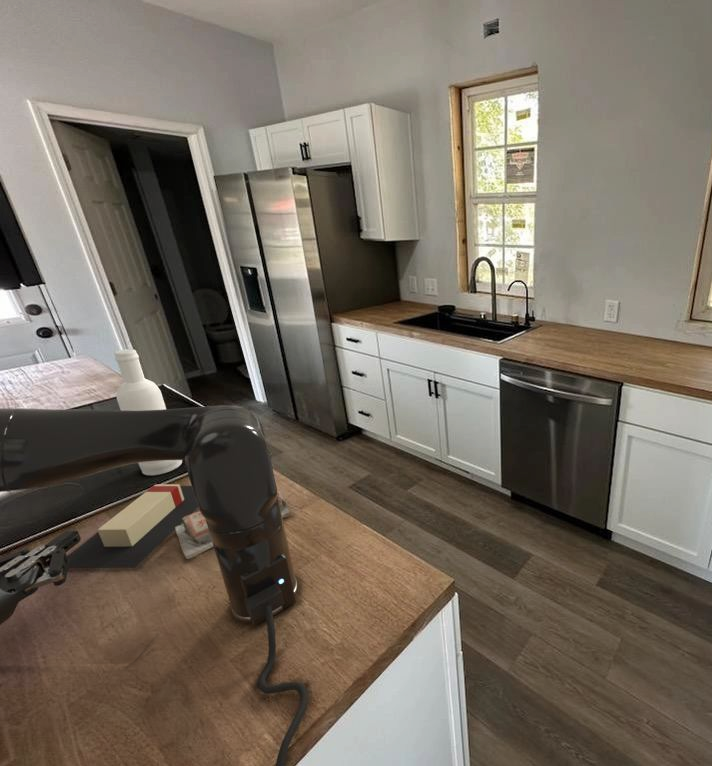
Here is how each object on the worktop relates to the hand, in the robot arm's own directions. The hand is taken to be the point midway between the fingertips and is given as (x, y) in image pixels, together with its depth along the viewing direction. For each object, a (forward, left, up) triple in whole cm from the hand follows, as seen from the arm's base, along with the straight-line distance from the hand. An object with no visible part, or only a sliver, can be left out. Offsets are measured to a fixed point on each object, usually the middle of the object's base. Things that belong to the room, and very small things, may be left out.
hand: (74, 534), depth 68 cm
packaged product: (-4, -21, -8) cm, 23 cm away
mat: (+9, -9, -8) cm, 15 cm away
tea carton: (+4, -4, -6) cm, 8 cm away
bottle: (+32, -15, -8) cm, 36 cm away
